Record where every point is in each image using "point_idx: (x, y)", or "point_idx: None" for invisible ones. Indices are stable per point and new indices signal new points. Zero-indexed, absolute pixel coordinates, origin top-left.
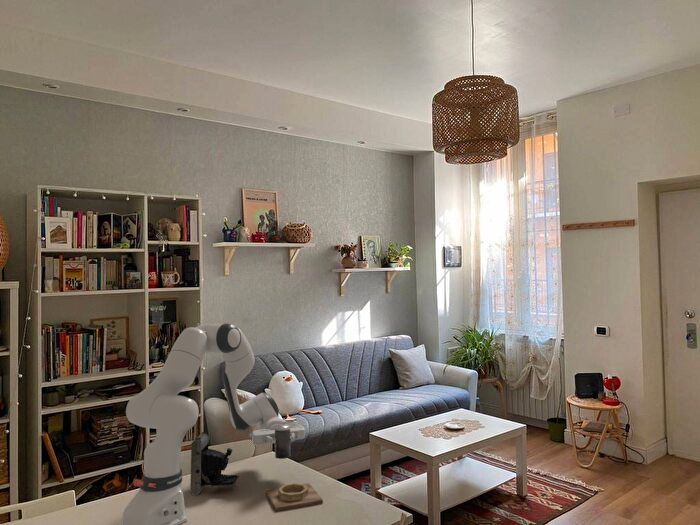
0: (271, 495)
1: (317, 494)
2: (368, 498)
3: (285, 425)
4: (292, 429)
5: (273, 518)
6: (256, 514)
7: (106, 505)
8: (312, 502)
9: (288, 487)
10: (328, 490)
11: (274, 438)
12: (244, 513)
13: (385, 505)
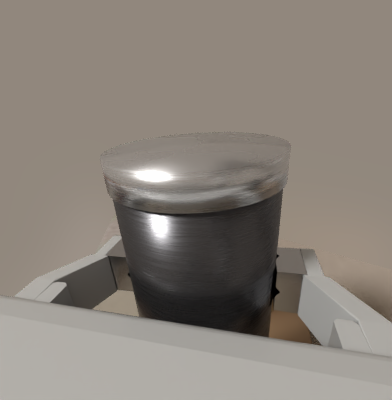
0: (297, 316)
1: None
2: (108, 238)
3: (151, 149)
4: None
5: (299, 246)
6: (339, 269)
7: None
8: None
9: None
10: (126, 294)
11: (283, 254)
12: (376, 284)
13: (115, 218)
